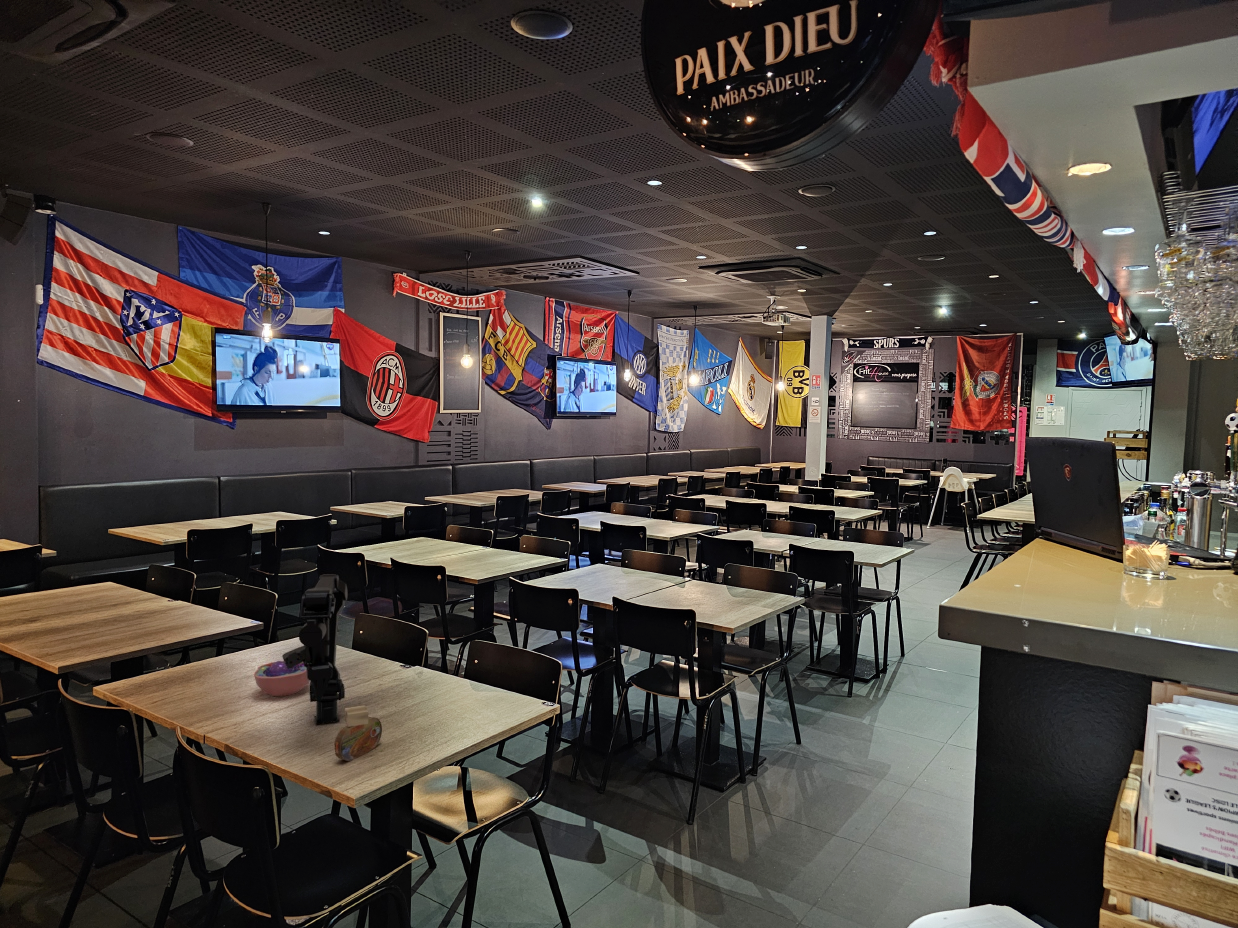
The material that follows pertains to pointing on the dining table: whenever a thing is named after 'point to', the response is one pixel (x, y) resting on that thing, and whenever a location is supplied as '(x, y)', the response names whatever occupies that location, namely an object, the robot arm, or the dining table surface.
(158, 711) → the dining table surface
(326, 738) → the dining table surface
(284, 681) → the cell model
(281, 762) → the dining table surface
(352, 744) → the tin
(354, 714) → the oak block
